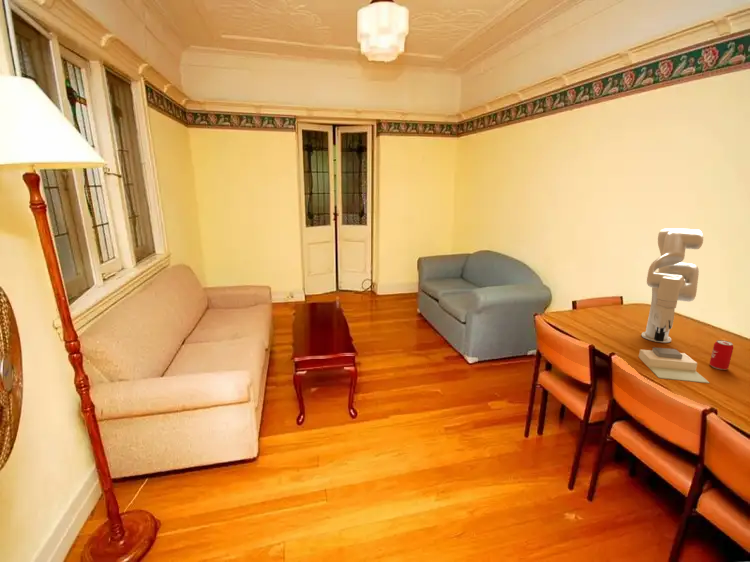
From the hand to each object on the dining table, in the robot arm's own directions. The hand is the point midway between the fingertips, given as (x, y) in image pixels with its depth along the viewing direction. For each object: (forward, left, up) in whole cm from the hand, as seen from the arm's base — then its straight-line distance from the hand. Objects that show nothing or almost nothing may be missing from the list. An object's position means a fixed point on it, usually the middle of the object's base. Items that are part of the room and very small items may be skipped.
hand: (658, 340), depth 174 cm
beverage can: (+7, +21, -8) cm, 24 cm away
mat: (+19, 0, -8) cm, 21 cm away
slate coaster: (+8, 0, -4) cm, 9 cm away
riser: (+9, 0, -8) cm, 12 cm away
